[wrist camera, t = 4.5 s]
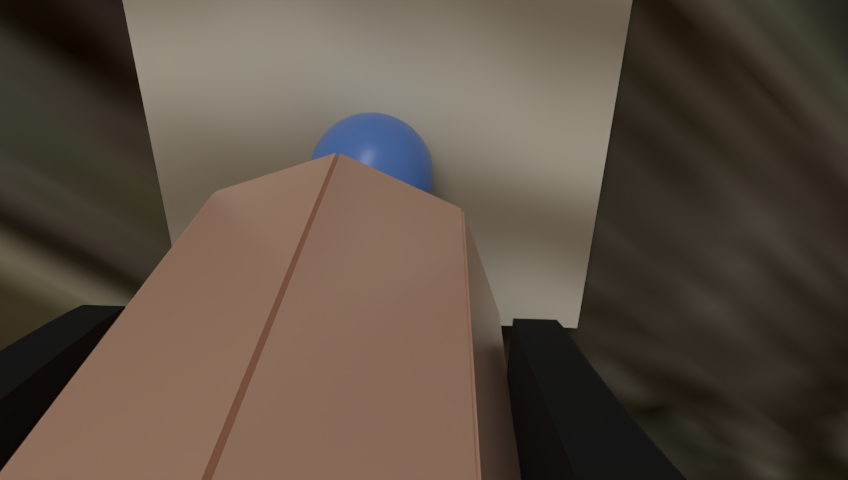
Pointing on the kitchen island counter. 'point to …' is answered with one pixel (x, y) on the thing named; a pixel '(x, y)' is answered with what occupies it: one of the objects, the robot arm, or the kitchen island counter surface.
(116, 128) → the kitchen island counter surface
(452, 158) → the board
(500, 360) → the wooden block
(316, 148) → the marble
